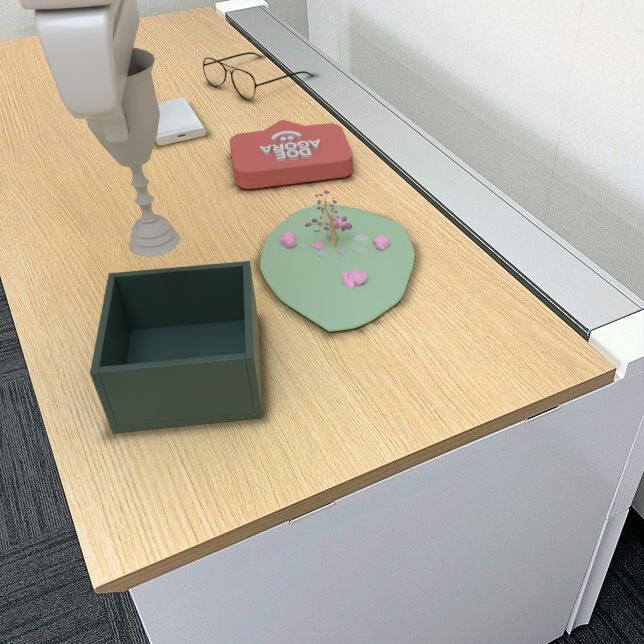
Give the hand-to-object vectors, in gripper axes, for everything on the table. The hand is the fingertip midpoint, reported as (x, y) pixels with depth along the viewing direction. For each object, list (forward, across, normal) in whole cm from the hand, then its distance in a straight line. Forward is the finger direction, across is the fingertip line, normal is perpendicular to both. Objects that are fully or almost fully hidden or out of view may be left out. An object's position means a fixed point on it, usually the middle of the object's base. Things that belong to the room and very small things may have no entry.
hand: (123, 118), depth 64 cm
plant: (+29, -14, +20) cm, 38 cm away
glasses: (+29, -73, +11) cm, 79 cm away
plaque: (+29, -42, +15) cm, 53 cm away
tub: (+29, +3, +1) cm, 29 cm away
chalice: (+13, 0, 0) cm, 13 cm away
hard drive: (+29, -57, -4) cm, 64 cm away
